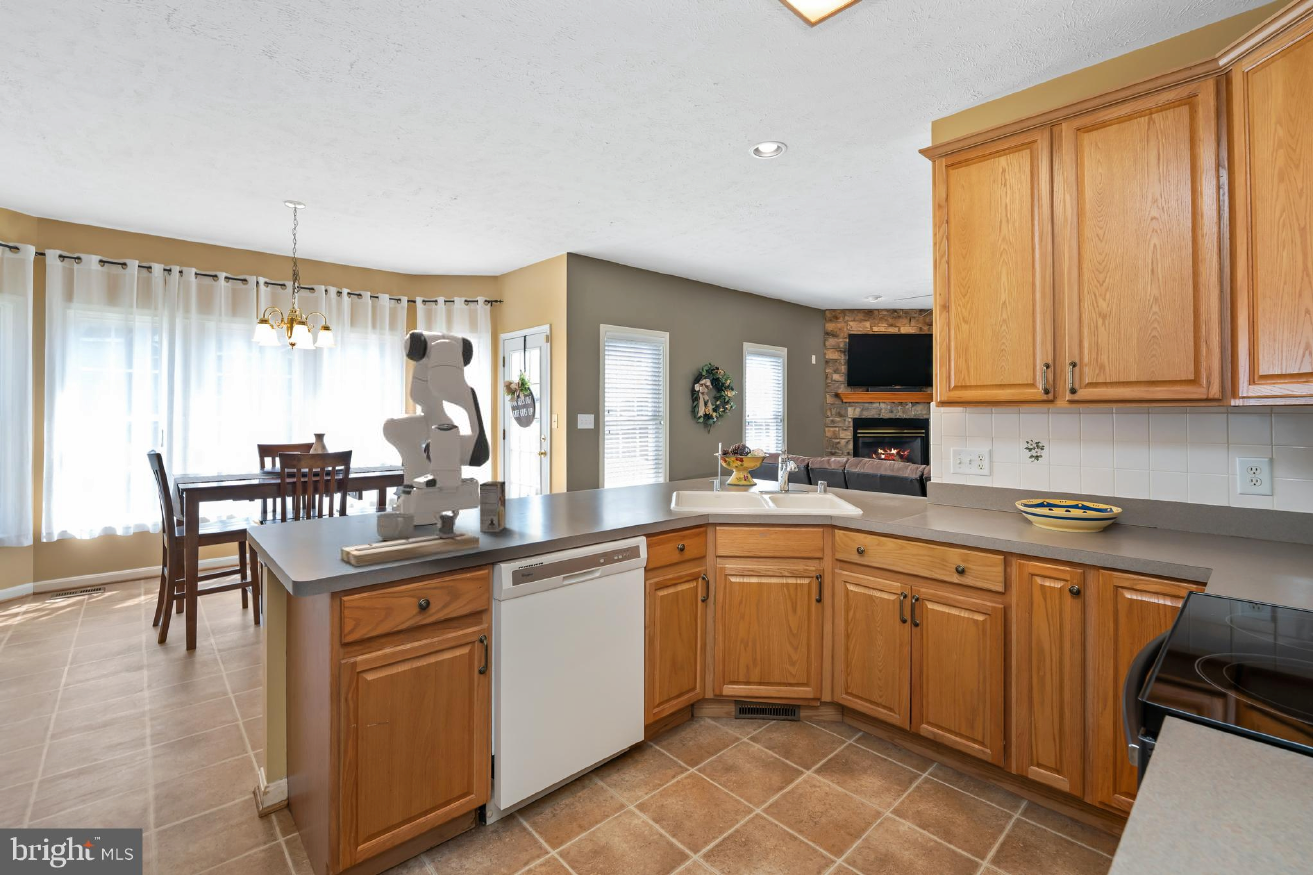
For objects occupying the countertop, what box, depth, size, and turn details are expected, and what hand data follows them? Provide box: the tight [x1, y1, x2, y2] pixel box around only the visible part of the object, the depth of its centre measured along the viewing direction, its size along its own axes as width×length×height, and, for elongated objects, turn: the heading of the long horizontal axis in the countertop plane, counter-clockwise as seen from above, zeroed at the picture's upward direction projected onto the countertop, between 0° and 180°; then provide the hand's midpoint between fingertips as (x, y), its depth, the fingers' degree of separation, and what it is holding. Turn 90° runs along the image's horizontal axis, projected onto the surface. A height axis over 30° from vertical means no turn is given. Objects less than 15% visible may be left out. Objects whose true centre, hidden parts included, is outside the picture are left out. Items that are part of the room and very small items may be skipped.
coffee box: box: [479, 480, 507, 533], centre depth 205 cm, size 9×6×16 cm
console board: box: [340, 531, 480, 567], centre depth 170 cm, size 12×34×3 cm, turn 135°
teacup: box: [376, 512, 415, 542], centre depth 186 cm, size 14×11×8 cm
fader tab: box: [435, 513, 457, 538], centre depth 177 cm, size 5×4×6 cm
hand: (446, 526), depth 177 cm, fingers closed on fader tab, 2 cm apart
